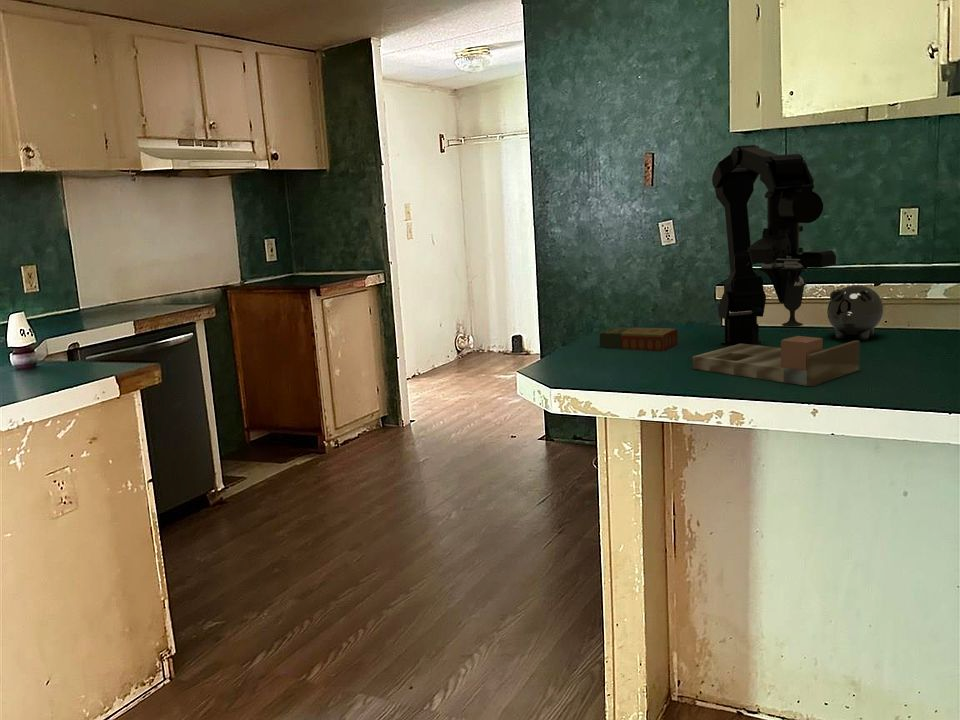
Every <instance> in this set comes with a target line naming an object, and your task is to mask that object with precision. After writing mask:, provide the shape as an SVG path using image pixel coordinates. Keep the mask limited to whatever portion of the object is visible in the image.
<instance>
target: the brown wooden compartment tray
mask: <svg viewBox="0 0 960 720" xmlns="http://www.w3.org/2000/svg"><path fill="white" fill-rule="evenodd" d="M860 345H861V341H860V340H856V339H855V340H851V341H849V342H846V343H844V342H843V343H841V344H839V345H836V346H835V345H834V346H832V347H829V348H826V349H822V351H818V352H815V353H812V354H809V355H807V371H804V370H796V369H789V368H782V367H781V347H774V346H766V345H759V344H754V345H750V344H737V345H733V346H730V345H729V346H727V347H723V348H718V349H715V350H712V351H708V352H704V353H701V354H700V353H699V354H698V355H692V370H697V369H698V370H697V371H704V372H712V373H718V374H724V375H732V376H738V377H746V378H753V379H758V380H759V379H760V380H767V381H772V382H778V383H779V382H780V383H784V384H785V383H786V384H793V385H798V386H799V385H800V386H807V387H815V386H817V385H820V384H823V382H824V383H827V382H830V381H832V380H835V379H837V378H840V377H844V376H847V375H849V374H852V373H855V372H857V371H860V351H861V350H860V347H861V346H860Z"/></svg>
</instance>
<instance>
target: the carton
mask: <svg viewBox="0 0 960 720" xmlns="http://www.w3.org/2000/svg"><path fill="white" fill-rule="evenodd" d="M678 345H679V331H678V328H671V327H669V328H667V327H665V328H663V327H637V326H636V327H635V326H633V327H631V326H627V327H626V326H613V327H611V328H609V329H606V330H602V331H601V332H599V347H608V348H607V349H612V348H618V349H617V350H631V351H633V350H634V351H651V352H665V351H667V350H670V349H672V348H674V347H677V346H678Z"/></svg>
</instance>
